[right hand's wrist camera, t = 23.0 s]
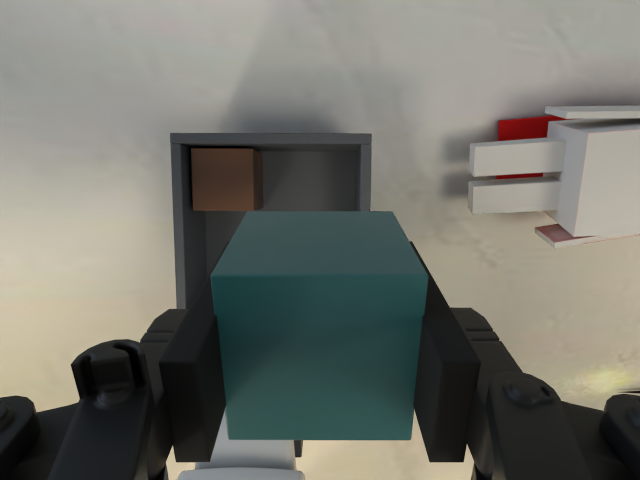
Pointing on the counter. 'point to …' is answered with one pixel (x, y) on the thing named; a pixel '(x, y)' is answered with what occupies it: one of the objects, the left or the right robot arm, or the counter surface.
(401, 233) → the teal cube
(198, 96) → the counter surface
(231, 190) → the walnut cube
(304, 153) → the bin
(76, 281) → the counter surface
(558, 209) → the toy
